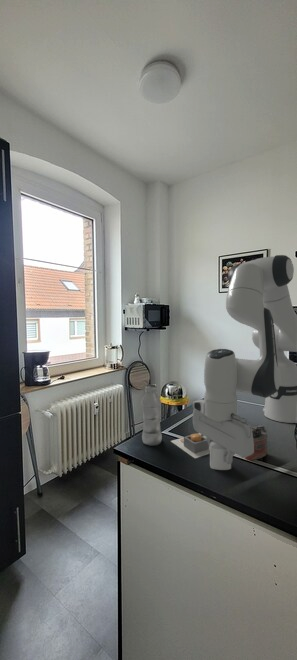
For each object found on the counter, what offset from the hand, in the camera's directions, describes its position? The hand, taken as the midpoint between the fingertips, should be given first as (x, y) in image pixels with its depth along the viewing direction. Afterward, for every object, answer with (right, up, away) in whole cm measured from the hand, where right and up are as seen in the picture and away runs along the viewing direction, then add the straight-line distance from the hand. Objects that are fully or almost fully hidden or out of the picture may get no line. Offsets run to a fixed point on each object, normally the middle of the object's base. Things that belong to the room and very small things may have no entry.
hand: (220, 457), depth 75 cm
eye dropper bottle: (0, -4, 0) cm, 4 cm away
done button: (-5, 0, +11) cm, 12 cm away
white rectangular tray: (-1, -3, +15) cm, 15 cm away
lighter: (+12, -3, +5) cm, 14 cm away
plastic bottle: (-19, -3, +16) cm, 25 cm away
